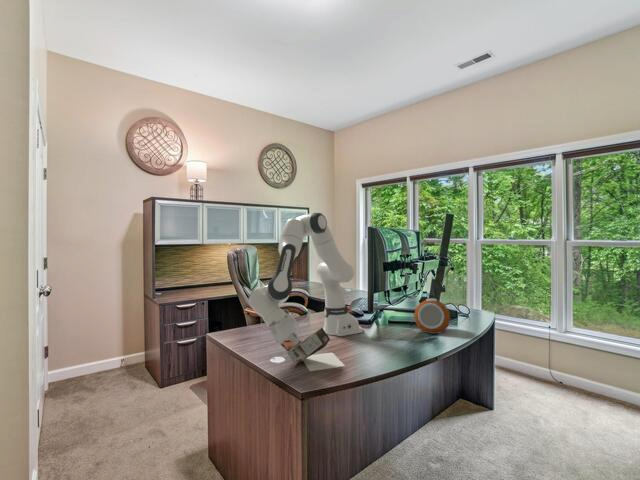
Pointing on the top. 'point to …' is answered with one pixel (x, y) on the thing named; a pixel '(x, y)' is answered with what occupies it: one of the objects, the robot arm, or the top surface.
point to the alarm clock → (432, 316)
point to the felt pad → (322, 362)
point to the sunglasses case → (287, 344)
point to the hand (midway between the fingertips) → (298, 343)
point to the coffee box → (308, 346)
